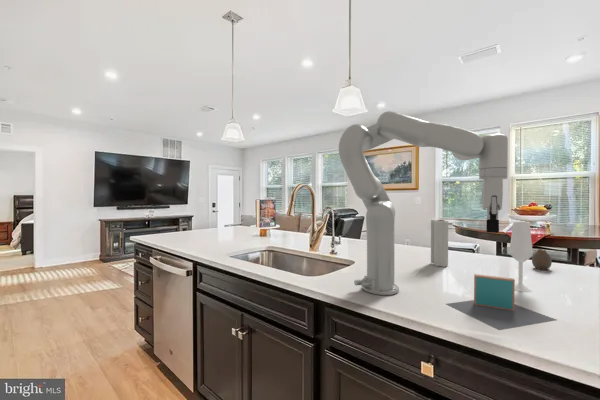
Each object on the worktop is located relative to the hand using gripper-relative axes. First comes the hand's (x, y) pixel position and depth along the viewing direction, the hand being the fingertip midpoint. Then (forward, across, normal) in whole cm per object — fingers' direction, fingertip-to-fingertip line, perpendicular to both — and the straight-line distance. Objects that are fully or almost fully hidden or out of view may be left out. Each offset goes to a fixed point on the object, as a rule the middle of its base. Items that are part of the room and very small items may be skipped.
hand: (492, 232), depth 95 cm
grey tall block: (+22, -43, -18) cm, 52 cm away
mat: (+22, +11, +1) cm, 24 cm away
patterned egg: (+22, -57, +22) cm, 65 cm away
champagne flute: (+22, -18, +10) cm, 31 cm away
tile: (+22, +7, 0) cm, 23 cm away
